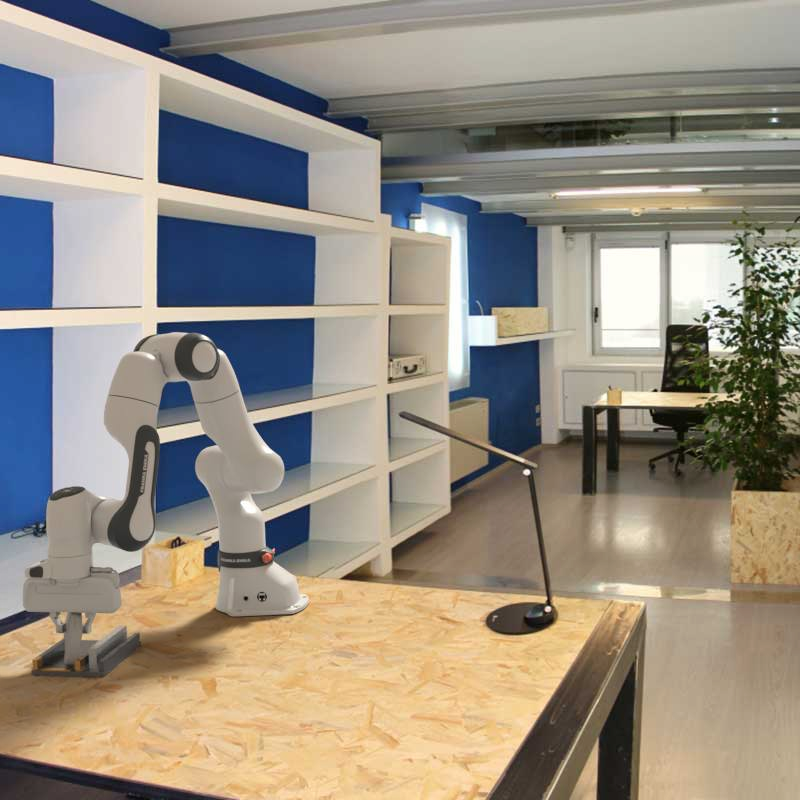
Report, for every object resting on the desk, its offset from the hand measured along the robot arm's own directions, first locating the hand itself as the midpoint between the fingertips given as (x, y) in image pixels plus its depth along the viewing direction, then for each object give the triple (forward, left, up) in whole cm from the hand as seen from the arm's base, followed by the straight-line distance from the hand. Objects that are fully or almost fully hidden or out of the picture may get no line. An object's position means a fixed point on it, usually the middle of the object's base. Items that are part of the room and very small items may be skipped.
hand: (73, 632), depth 211 cm
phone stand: (-3, 0, -6) cm, 6 cm away
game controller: (+1, +1, -4) cm, 4 cm away
